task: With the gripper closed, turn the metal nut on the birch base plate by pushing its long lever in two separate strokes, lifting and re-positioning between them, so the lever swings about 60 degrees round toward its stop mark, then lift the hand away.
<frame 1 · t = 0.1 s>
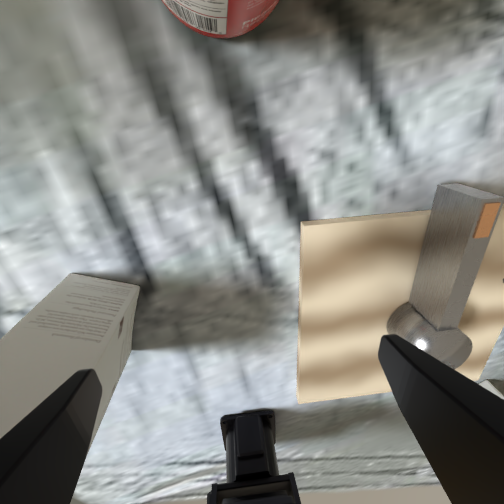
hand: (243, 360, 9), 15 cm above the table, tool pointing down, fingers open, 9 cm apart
skincare box: (102, 311, 25), on the table
base plate: (403, 312, 28), on the table
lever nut: (437, 299, 23), point 4 cm above the table, hinge at 0.0°
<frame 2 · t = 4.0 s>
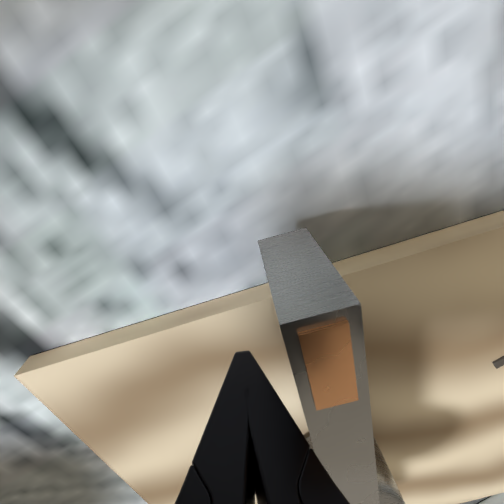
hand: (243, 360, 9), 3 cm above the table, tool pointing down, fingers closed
small box: (497, 503, 23), on the table
base plate: (324, 431, 16), on the table
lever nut: (338, 460, 11), point 4 cm above the table, hinge at 2.7°, touching gripper
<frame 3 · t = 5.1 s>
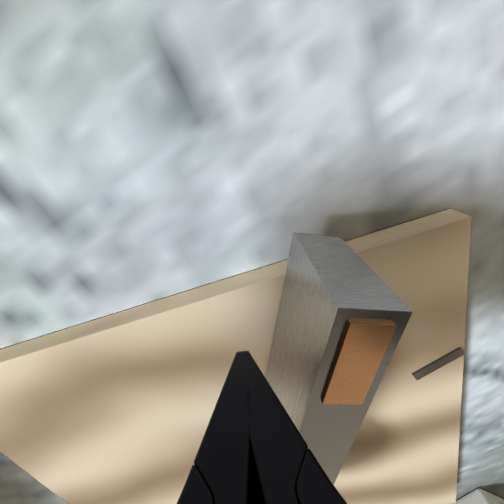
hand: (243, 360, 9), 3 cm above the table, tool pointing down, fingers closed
base plate: (258, 441, 16), on the table
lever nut: (281, 469, 11), point 4 cm above the table, hinge at 24.4°, touching gripper
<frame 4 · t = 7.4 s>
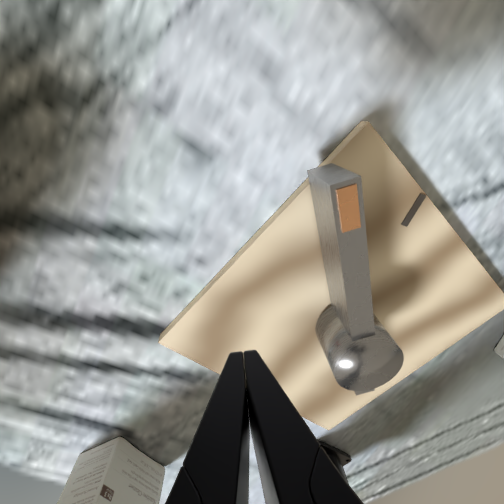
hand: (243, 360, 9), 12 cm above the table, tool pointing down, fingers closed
skincare box: (122, 458, 31), on the table
base plate: (338, 314, 24), on the table
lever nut: (349, 302, 19), point 4 cm above the table, hinge at 32.3°
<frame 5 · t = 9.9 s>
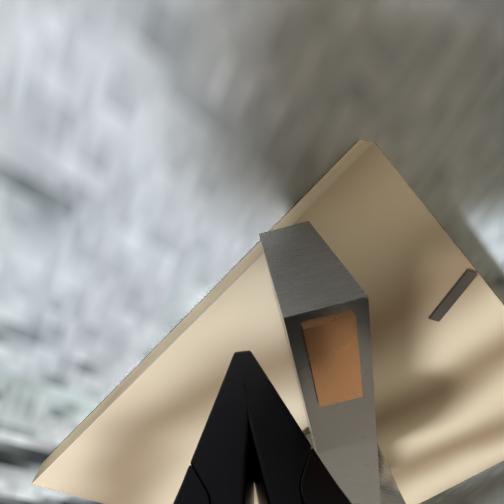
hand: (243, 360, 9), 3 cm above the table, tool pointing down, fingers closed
base plate: (323, 429, 16), on the table
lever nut: (338, 458, 11), point 3 cm above the table, hinge at 33.4°, touching gripper
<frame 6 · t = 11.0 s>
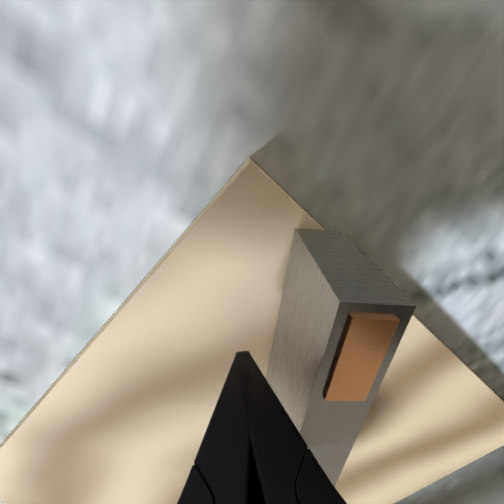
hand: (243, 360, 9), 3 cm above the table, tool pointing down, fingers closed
base plate: (261, 440, 16), on the table
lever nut: (284, 467, 11), point 4 cm above the table, hinge at 54.0°, touching gripper
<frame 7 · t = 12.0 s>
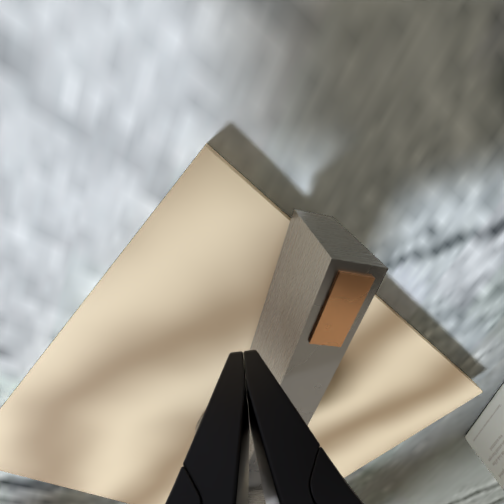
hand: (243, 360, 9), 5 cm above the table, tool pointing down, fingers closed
base plate: (237, 408, 17), on the table
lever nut: (261, 421, 12), point 4 cm above the table, hinge at 61.4°
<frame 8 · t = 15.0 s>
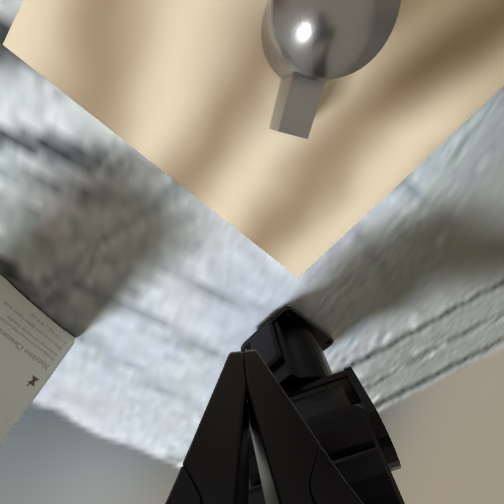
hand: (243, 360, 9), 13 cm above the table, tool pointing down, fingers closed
skincare box: (12, 319, 22), on the table
base plate: (301, 38, 16), on the table
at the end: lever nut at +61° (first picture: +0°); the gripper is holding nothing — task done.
